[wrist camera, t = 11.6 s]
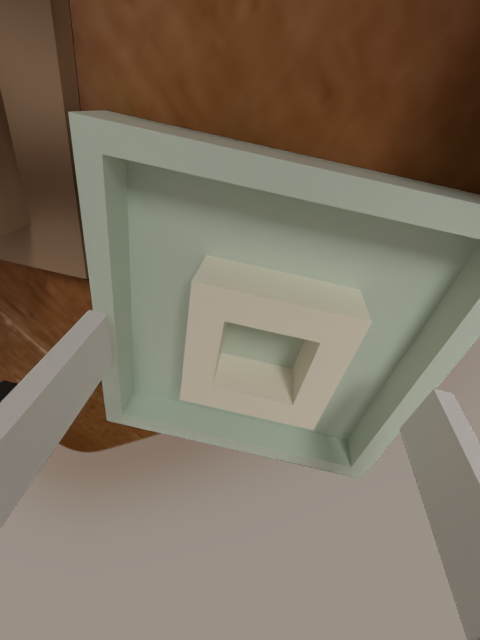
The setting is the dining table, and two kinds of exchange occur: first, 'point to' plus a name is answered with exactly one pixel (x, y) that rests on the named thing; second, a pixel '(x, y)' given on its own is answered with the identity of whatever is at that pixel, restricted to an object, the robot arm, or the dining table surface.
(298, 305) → the ring
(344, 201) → the tray
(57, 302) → the dining table surface
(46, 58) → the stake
